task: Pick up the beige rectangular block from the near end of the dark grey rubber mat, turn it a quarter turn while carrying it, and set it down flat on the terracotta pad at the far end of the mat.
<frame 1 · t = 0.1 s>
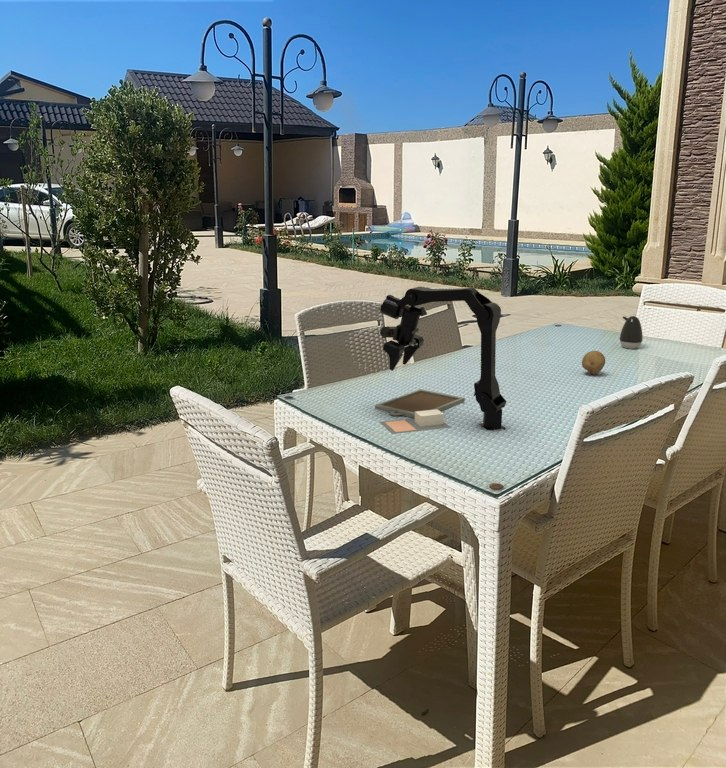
hand: (397, 367, 245), 15 cm above the table, tool pointing down, fingers open, 9 cm apart
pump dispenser: (629, 348, 344), on the table
beige rectangular block: (429, 423, 235), point 1 cm above the table, touching mat
brown potato: (592, 375, 297), on the table
mat: (414, 426, 233), on the table
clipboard: (418, 407, 253), on the table, touching mat
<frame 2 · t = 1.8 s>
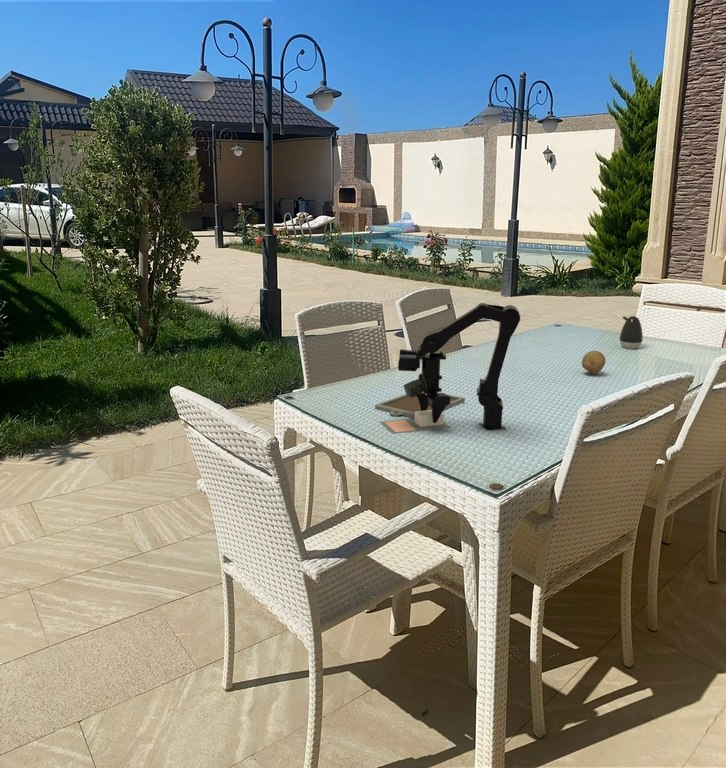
hand: (429, 418, 235), 2 cm above the table, tool pointing down, fingers open, 8 cm apart
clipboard: (418, 407, 253), on the table, touching gripper, mat
everything else where it was.
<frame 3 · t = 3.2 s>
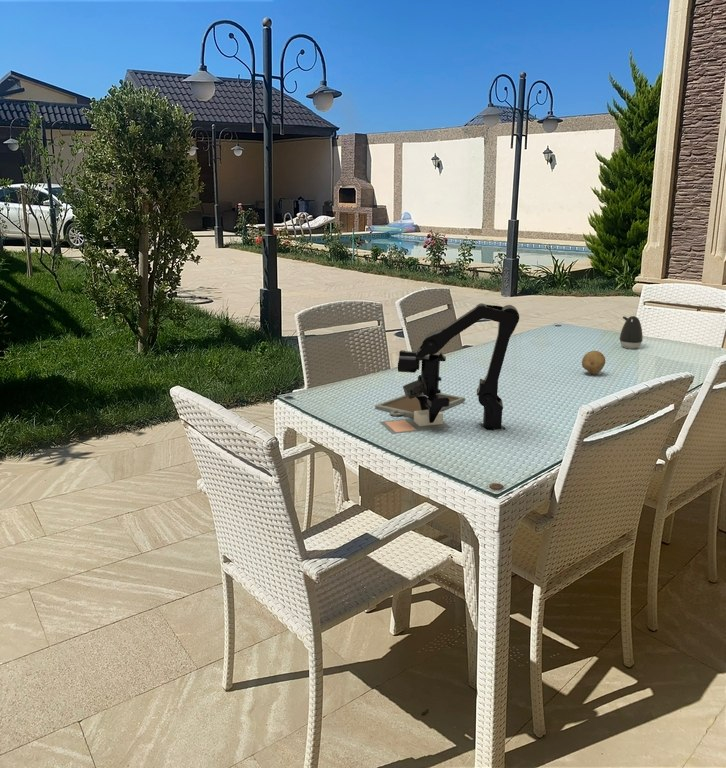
hand: (427, 419, 235), 2 cm above the table, tool pointing down, fingers closed on beige rectangular block, 5 cm apart
beige rectangular block: (428, 422, 235), point 1 cm above the table, touching gripper, mat
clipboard: (418, 407, 252), on the table, touching mat
everything else where it was.
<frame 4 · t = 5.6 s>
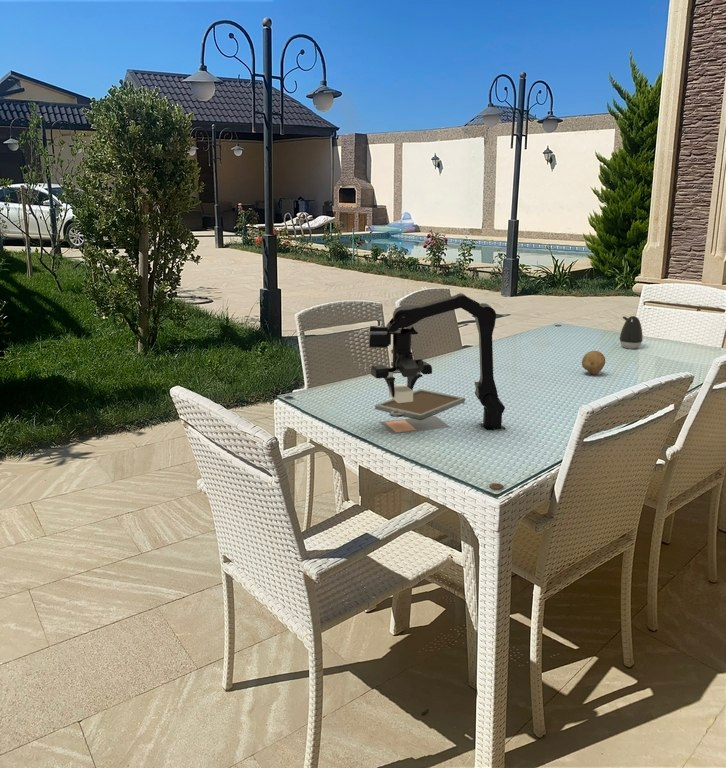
hand: (401, 396, 229), 11 cm above the table, tool pointing down, fingers closed on beige rectangular block, 5 cm apart
beige rectangular block: (400, 398, 229), point 10 cm above the table, touching gripper
everything else where it was.
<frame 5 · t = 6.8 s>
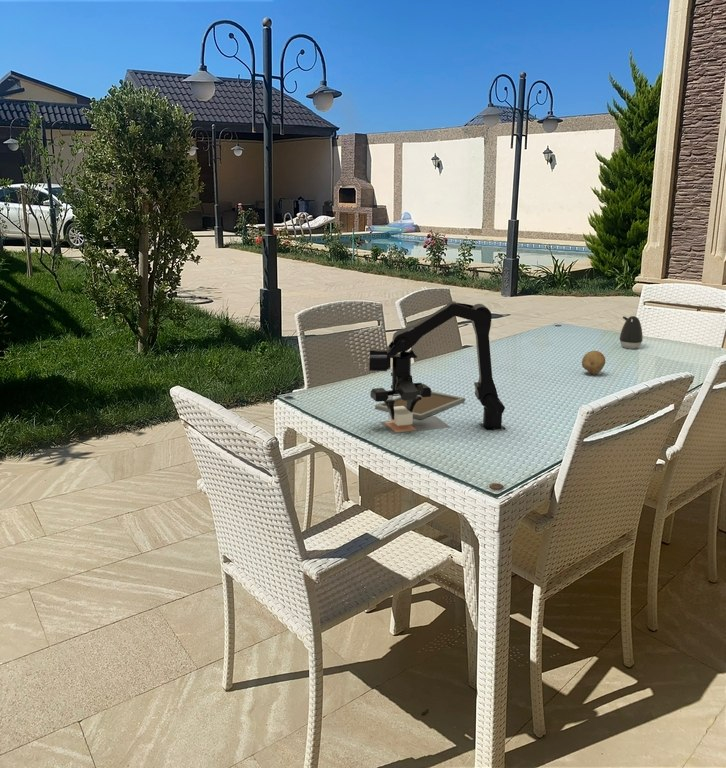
hand: (400, 418, 231), 3 cm above the table, tool pointing down, fingers closed on beige rectangular block, 5 cm apart
beige rectangular block: (400, 420, 231), point 2 cm above the table, touching gripper
everything else where it was.
when the fingers open (3 cm above the table, at t = 7.7 s): beige rectangular block drops 1 cm, resting on mat.
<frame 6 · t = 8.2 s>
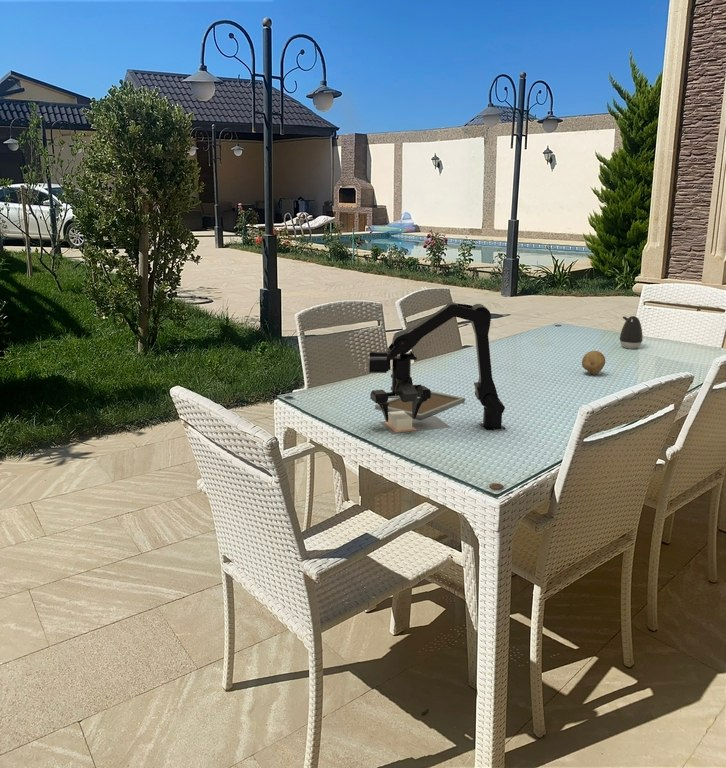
hand: (400, 420, 231), 3 cm above the table, tool pointing down, fingers open, 9 cm apart
beige rectangular block: (400, 425, 232), point 1 cm above the table, touching mat
everything else where it was.
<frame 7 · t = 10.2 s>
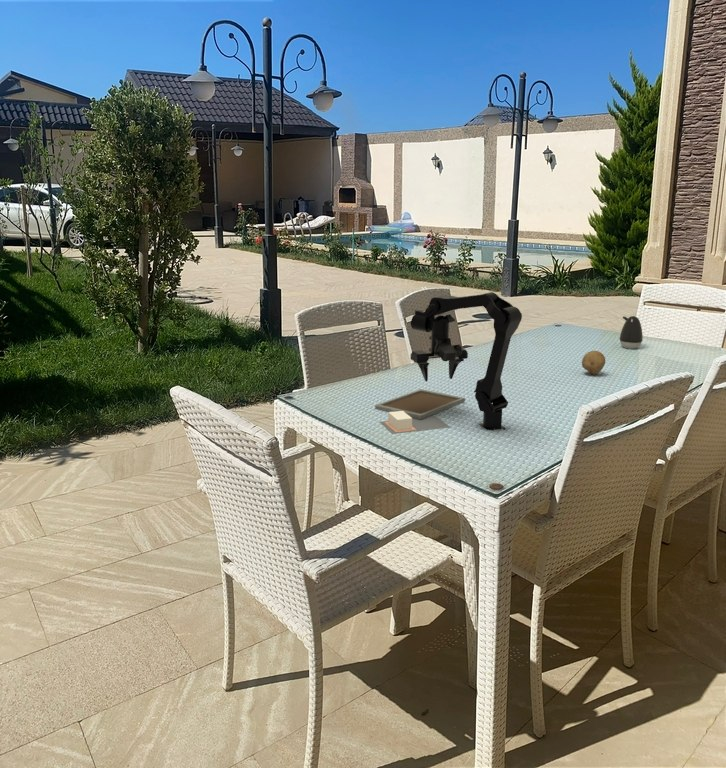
hand: (438, 379, 243), 12 cm above the table, tool pointing down, fingers open, 9 cm apart
nothing on the table moved.
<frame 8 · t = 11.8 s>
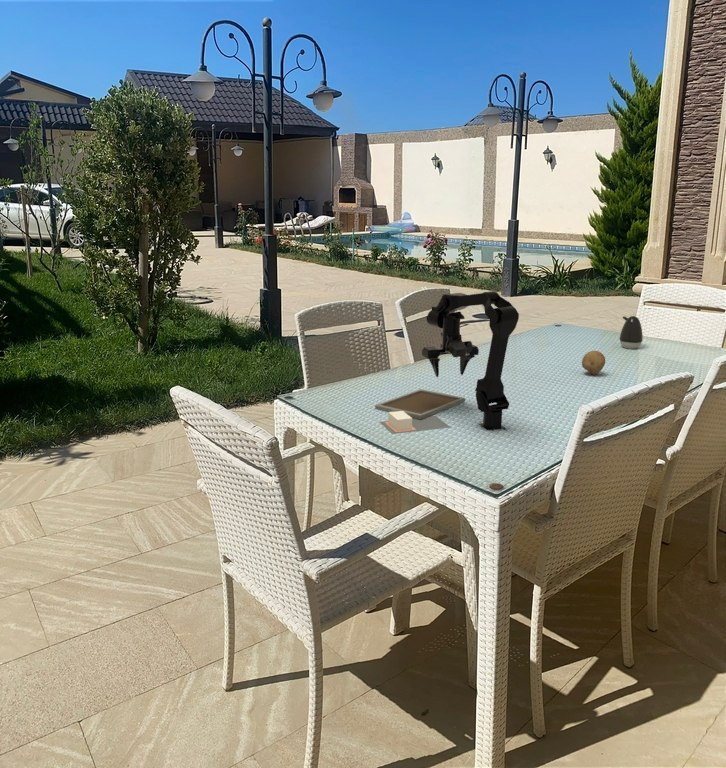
hand: (449, 375, 248), 12 cm above the table, tool pointing down, fingers open, 9 cm apart
nothing on the table moved.
at the end: beige rectangular block 0.2 cm from the target spot on the mat, point 0.7 cm above the mat's base; beige rectangular block tilted 0°; the gripper is holding nothing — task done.
